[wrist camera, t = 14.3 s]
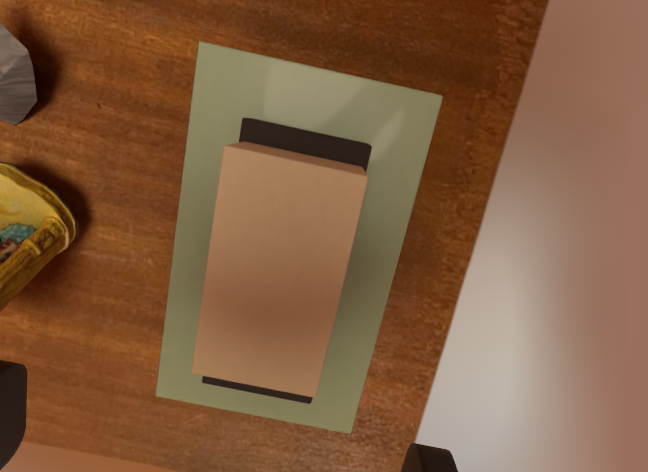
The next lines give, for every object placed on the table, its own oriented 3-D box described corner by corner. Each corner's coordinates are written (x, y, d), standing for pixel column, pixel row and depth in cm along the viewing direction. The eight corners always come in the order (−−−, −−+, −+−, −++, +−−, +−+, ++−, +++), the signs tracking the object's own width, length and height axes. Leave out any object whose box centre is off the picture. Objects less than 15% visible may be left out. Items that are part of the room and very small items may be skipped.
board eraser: (250, 117, 21) (221, 116, 15) (368, 143, 21) (381, 151, 16) (211, 362, 24) (177, 429, 19) (312, 382, 24) (307, 454, 19)
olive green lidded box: (242, 67, 29) (198, 40, 20) (408, 104, 30) (443, 95, 20) (204, 320, 35) (154, 396, 25) (345, 348, 35) (350, 434, 25)
